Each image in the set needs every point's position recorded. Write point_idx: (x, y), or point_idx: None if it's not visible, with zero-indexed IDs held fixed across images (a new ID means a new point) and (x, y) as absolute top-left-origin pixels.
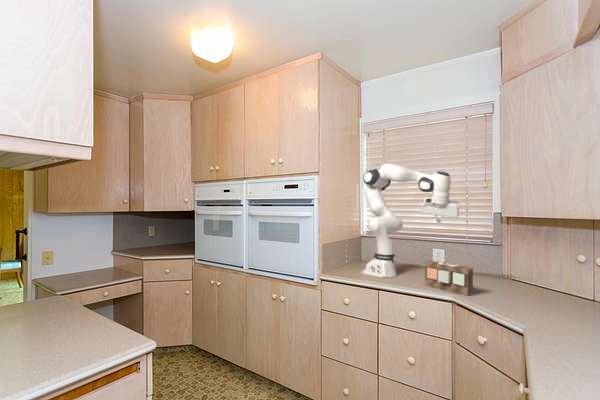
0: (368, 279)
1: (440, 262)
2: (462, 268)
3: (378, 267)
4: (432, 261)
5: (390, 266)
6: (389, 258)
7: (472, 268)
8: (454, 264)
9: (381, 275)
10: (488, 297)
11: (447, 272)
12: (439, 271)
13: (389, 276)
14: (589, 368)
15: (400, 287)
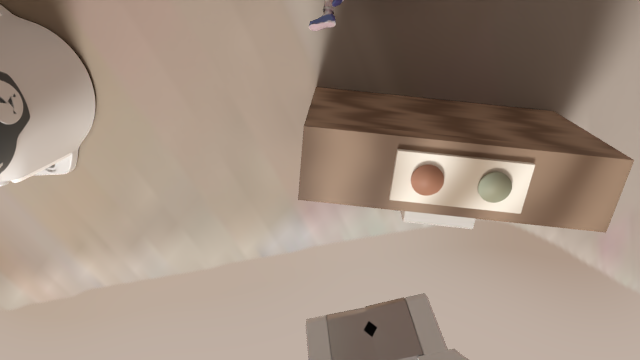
0: (63, 242)
1: (399, 171)
2: (570, 228)
3: (8, 181)
4: (329, 152)
5: (44, 133)
6: (3, 160)
7: (628, 167)
8: (508, 187)
9: (58, 164)
10: (630, 114)
11: (466, 227)
12: (413, 220)
13: (86, 131)
14: None
15: (247, 254)
